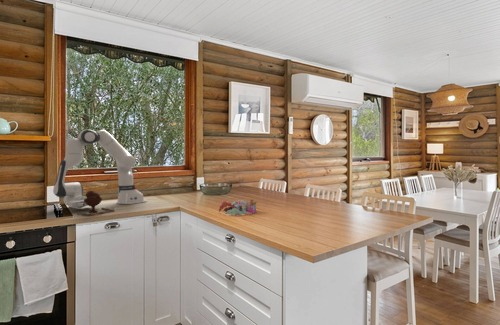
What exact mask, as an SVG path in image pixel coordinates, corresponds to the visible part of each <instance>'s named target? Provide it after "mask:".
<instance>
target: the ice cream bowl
mask: <svg viewBox="0 0 500 325" xmlns="http://www.w3.org/2000/svg"><path fill="white" fill-rule="evenodd" d="M85 196H86V197H87V198H86V199H84V202H85V203H86V204H87V205H88V206H89V207H91V210H90V211H88V214H92V213H98V212H99V211H98V210H97V209H96V206H99V205H100V203H102V200H103V198H102V197H101V195H100V194H99V193H98V192H95V191H94V190H89V191H87V192H86V194H85Z"/></svg>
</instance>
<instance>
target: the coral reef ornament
mask: <svg viewBox="0 0 500 325" xmlns="http://www.w3.org/2000/svg"><path fill="white" fill-rule="evenodd" d="M257 203H258V202H257V201H254V199H253V198H250V200H249V202H248V201H246V200H243V199H241V198H240V199H238V200H237V201H233V202H232V203H231V202H227V201H226V200H225V201H224V200H223V201H222V202H221V205H220V206H219V209H218V213H219V212H220V211H225V212H226V213H225V214H231V215H242V214H249V215H252V214H251V213H253V214H256V213H257ZM255 212H256V213H255Z"/></svg>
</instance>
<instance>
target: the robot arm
mask: <svg viewBox="0 0 500 325" xmlns="http://www.w3.org/2000/svg"><path fill="white" fill-rule="evenodd" d="M95 143H98V145H100V146H101V147H102V149H104V151H105V152H106V153H107V154H108V155H109V156H110V157H112V158H113V159H114V160H115V163H116V169H117V175H118V176H117V177H118V185H117V192H118V197H117V200H116V204H119V205H132V204H140V203H146V202H147V199H146V198H145V197H144V194H143V193H142V192H140V190H137V188H138V185H135V184H134V174H133V169H132V168H133V167H134V166H135V165H136V161H137V160H136V158H135V157H134V156H133V155H132V154H131V153H130V152H129V151H128V150H127V149H125V147H123V145H121V144H120V143H119V142H118V140H116V138H115V137H114V136H113V135H111V134H110V133H109V132H108V131H106V129H99V130H97V131H95V130H93V129H84V130H81V131H80V132H79V133H78V135H77V136H76V137H71V138H70V139H68V140H67V142H66V148H65V155H64V156H65V157H64V159H63V160H61V161H60V163H59V166H58V170H57V174H56V179H55V183H54V186H53V191H52V192H53V194H54V196H56V197H58V198H63V203H64V204H65V205H66V206H68V208H71V209H72V208H77V209H82V208H85V207H87V206H89V205H87V204H86V203H85V202H84V199H86V198H87V197H86V195H83V194H84V186H83V185H82V184H81V182H79V181H74V182H73V181H72V182H65V181H66V180H65V178H66V174H67V172H68V171H69V170H70V169H71V168H74V167H76V166H78V165H80V164H81V163H82V162H83V159H84V148H85V146H86V145H93V144H95Z"/></svg>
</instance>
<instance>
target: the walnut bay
mask: <svg viewBox="0 0 500 325" xmlns="http://www.w3.org/2000/svg"><path fill="white" fill-rule="evenodd" d="M101 210H102V211H98V212H97V213H85V212H82V211H77V212H76V213H77V215H80V214H81V216H85V217H93V216H97V215H102V214H108V213H113V212H115V209H112V208H108V207H101Z"/></svg>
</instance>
